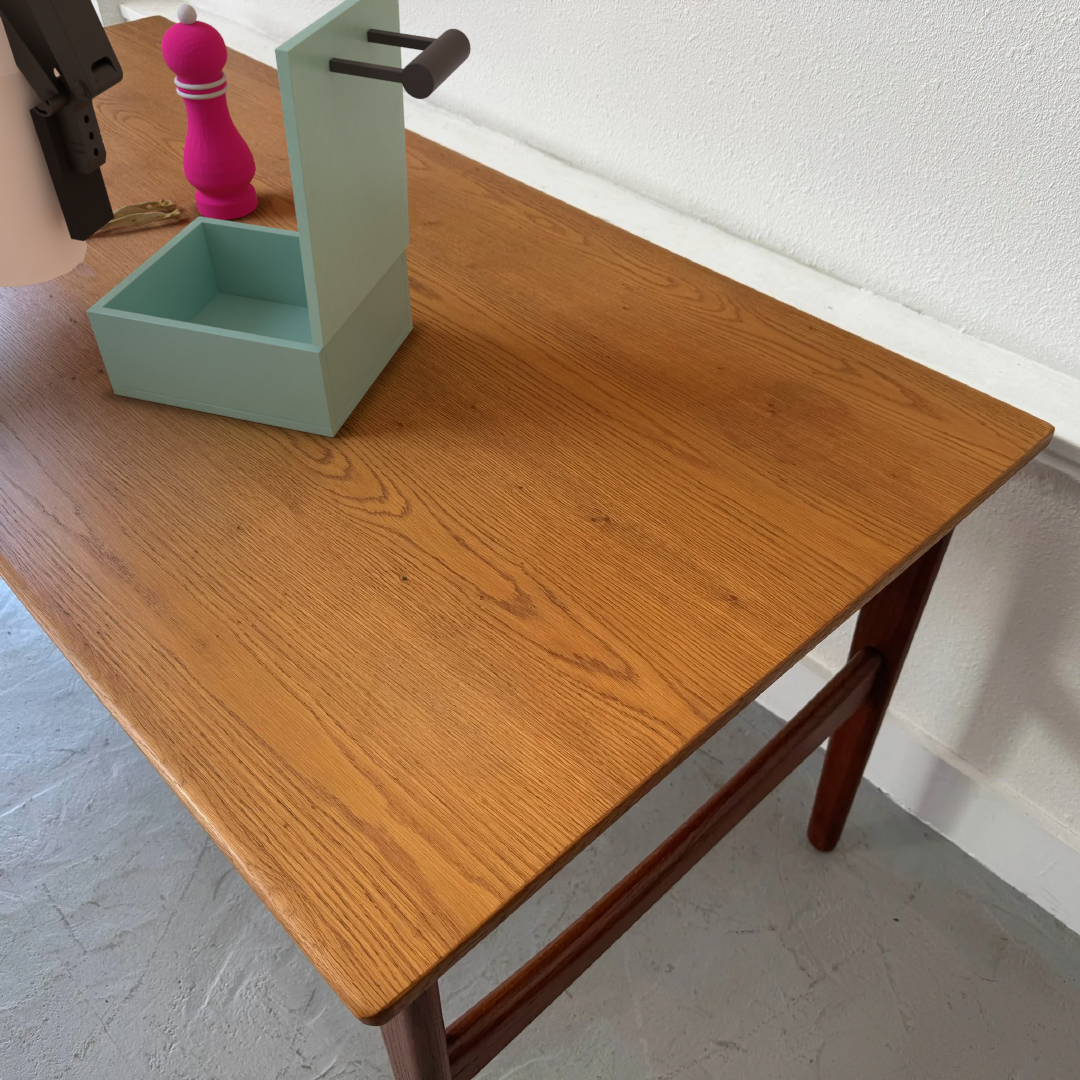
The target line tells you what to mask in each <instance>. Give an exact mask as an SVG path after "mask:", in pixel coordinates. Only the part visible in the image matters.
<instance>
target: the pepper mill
mask: <svg viewBox="0 0 1080 1080" xmlns="http://www.w3.org/2000/svg"><path fill="white" fill-rule="evenodd" d="M176 16H177V19H178V21H179V22H176V23H174V24H172V25H171V26H170V27H169V28H168V29H167V30H166V31H165V33H164V35H163V37H162V41H161V51H162V54H161V55H162V58H163V61H164V62H165V64H166V66H167V67H168V69H169V70H170V71H172V72H173V73H174V74H175V75H176V76H175V77H174V78H173V83H174V84H175V85H176V94H177V95H178V96H179V97H181V98H182V99H183V103H184V106H185V110H186V111H185V112H186V118H187V130H186V135H185V141H184V146H183V154H182V166H183V173H184V177H185V179H186V180H187V182H188V183H189V184H190V185H191V186H192V187H193V188H195V189H196V191H195V193H194V199H195V203H196V207H197V210H198V213H199V214H200V215H201V216H202V217H206V218H213V219H219V220H226V221H231V220H235V219H239V218H244V217H246V216H249V215H250V214H252V213H253V212H254V211H255V210H256V209H257V207H258V205H259V202H258V197H257V192H256V188H255V186H254V184H252V183H251V182H252V181H253V179H254V177H255V175H256V171H257V170H256V169H257V167H256V162H255V158H254V155H253V153H252V151H251V149H250V147H249V144H248V143H247V141H246V140H245V139H244V137H243V136H242V135H241V133H240V131H239V130H238V128H237V127H236V125H235V124H234V121H233V119H232V117H231V113H230V110H229V106H228V101H227V92H228V90H229V88H230V86H229V83H228V81H227V79H228V75H227V73H226V72H225V71H223V70H224V68H225V67H226V64H227V61H228V49H227V45H226V42H225V40H224V38H223V36H222V33H220V32H219V31H218V29H216V28H215V27H214V26H213V25H211V24H209V23H207V22H204V21H201V20H197V19H198V14H197V11H196V9H195V8H194V7H193V6H192V5H190V4H187V3H185V4H181V5H179V7H178V8H177V11H176Z"/></svg>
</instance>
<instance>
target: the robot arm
mask: <svg viewBox="0 0 1080 1080" xmlns="http://www.w3.org/2000/svg"><path fill="white" fill-rule="evenodd" d="M0 17H1V20H2V23H3V26H4V29H5V32H6V35H7V38H8V41H9V44H10V48H11V51H12V54H13V57H14V60H15V63H16V65H17V67H18V68H19V70H20V71H21V72H22V74H23V75H24V77H25V78H26V79H27V81H28V82H29V84H30V85H31V86H32V88H33V89H34V91H35V92H36V93H37V95H38V96H39V98H40V99H41V100H42V103H41V104H39V105H37V106H35V107H34V108H32V109H30V110H29V111H30V114H31V117H32V120H33V123H34V126H35V130H36V133H37V136H38V139H39V142H40V145H41V148H42V151H43V154H44V157H45V160H46V163H47V166H48V170H49V173H50V176H51V179H52V182H53V185H54V188H55V191H56V194H57V197H58V200H59V203H60V206H61V210H62V213H63V216H64V219H65V222H66V225H67V228H68V231H69V234H70V237H71V239H74V240H79V241H86V240H88V239H89V238H91V236H94V234H96V233H97V232H98V231H100V230H99V229H100V228H102V227H103V226H104V225H106V224H107V223H108V222H110V221H111V220H112V219H113V218H114V214H113V211H114V210H113V208H112V204H111V200H110V197H109V193H108V190H107V187H106V183H105V180H104V177H103V173H102V169H101V166H103V165H105V164H106V163H107V149H106V147H105V143H104V142H103V141H104V140H103V136H102V134H101V129H100V125H99V122H98V117H97V115H96V111H95V106H94V104H93V99H95V98H96V97H98V96H100V95H101V94H103V93H104V92H106V91H108V90H109V89H111V88H112V87H115V85H118V84H119V83H121V82H122V80H123V78H124V71H123V68H122V65H121V63H120V60H119V59H118V57H117V55H116V52H115V50H114V48H113V45H112V44H111V41H110V39H109V37H108V35H107V33H106V30H105V28H104V26H103V24H102V22H101V20H100V17H99V14H98V13H97V10H96V8H95V6H94V4H93V1H92V0H0ZM54 68H55V69H56V70H57V72H58V73H59V76H57V77H56V76H55V73H54Z"/></svg>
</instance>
